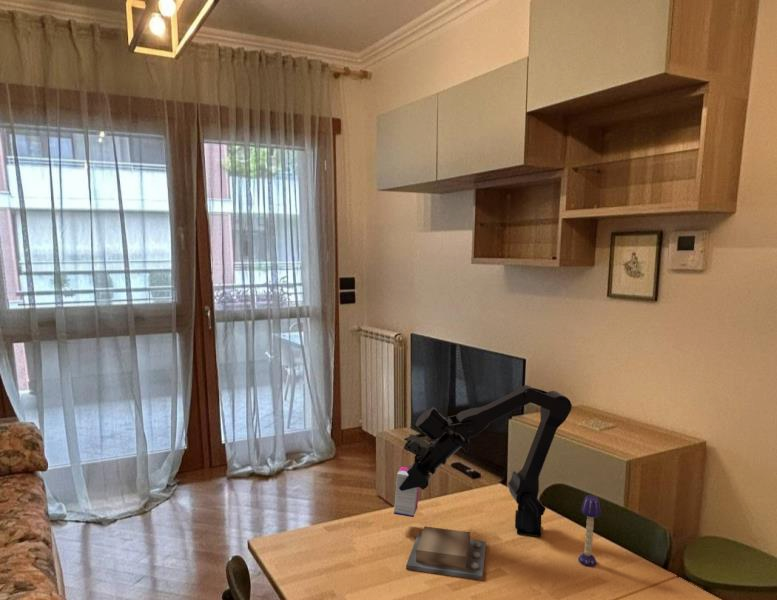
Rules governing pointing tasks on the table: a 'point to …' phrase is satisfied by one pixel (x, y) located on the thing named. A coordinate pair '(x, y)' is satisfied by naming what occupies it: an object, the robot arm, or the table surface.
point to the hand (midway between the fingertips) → (402, 485)
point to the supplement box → (405, 496)
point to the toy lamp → (589, 528)
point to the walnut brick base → (450, 569)
